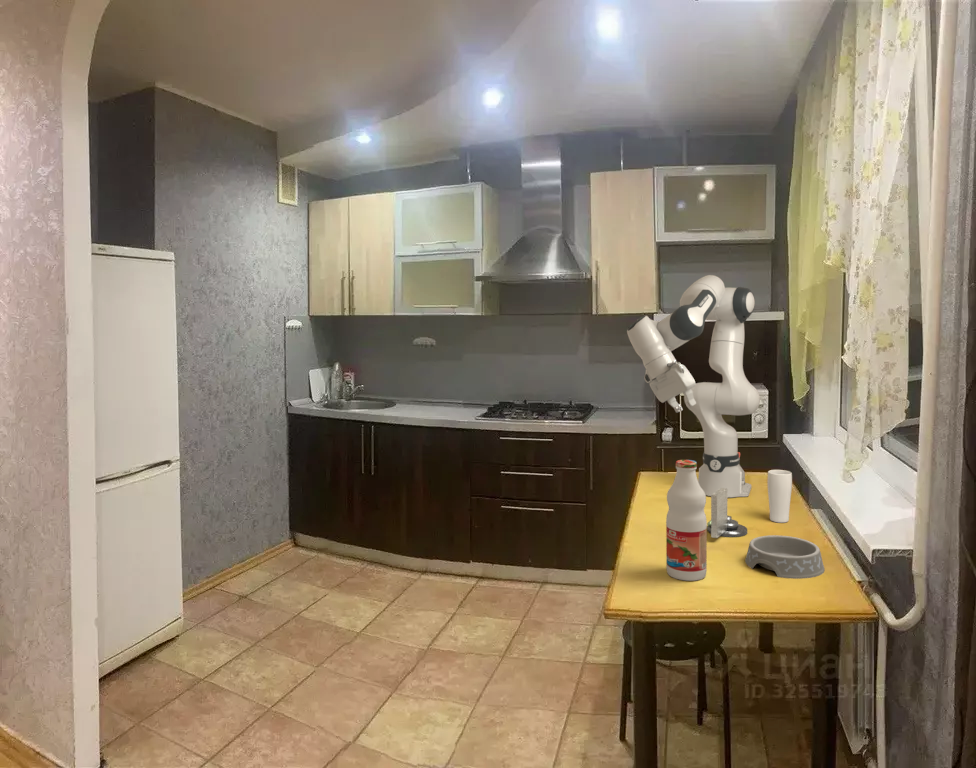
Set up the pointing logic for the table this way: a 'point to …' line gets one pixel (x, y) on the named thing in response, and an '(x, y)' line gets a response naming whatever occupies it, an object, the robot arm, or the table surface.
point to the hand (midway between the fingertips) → (686, 408)
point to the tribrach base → (731, 531)
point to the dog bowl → (786, 556)
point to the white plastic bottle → (686, 525)
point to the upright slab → (720, 514)
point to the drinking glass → (779, 494)
